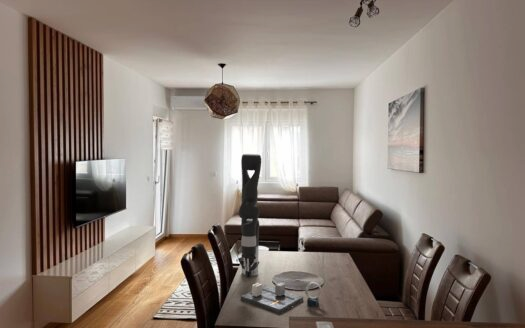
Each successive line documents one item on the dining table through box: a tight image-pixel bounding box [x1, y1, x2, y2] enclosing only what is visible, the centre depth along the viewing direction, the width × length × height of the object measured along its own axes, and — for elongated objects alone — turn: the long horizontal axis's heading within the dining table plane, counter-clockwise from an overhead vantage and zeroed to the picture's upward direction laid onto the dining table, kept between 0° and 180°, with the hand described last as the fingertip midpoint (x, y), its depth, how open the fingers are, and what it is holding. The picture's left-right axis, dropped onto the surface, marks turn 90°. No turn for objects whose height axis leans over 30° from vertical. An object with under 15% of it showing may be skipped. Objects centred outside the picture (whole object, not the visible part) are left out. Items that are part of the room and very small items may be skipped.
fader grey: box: [274, 282, 286, 296], centre depth 187 cm, size 3×4×5 cm
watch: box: [304, 280, 322, 308], centre depth 181 cm, size 6×8×11 cm
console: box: [240, 284, 304, 315], centre depth 185 cm, size 24×20×2 cm
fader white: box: [251, 282, 263, 297], centre depth 186 cm, size 3×4×5 cm
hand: (248, 277), depth 190 cm, fingers closed
